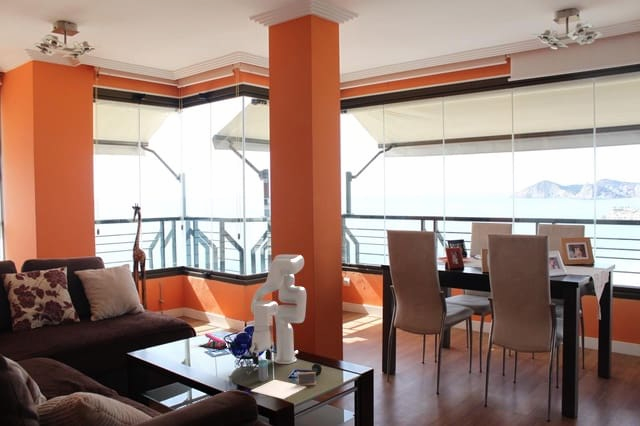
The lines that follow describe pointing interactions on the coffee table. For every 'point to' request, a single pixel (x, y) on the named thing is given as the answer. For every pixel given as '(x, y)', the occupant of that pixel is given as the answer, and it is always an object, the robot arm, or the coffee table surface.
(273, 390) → the paper
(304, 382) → the word card
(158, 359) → the coffee table surface
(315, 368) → the microphone
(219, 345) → the pink toy cannon
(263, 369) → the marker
